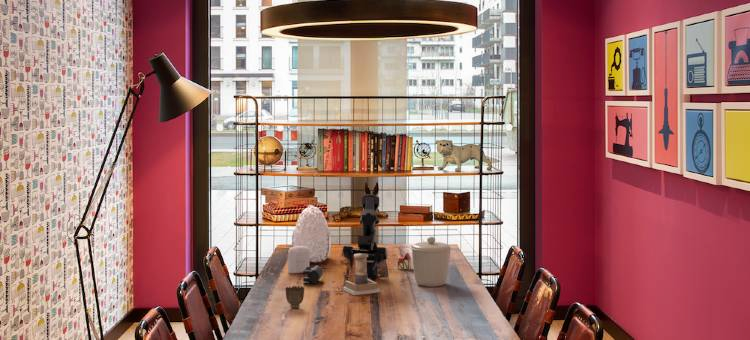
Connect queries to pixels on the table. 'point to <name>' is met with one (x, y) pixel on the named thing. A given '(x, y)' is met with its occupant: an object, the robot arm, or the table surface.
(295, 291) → the cup
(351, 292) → the cream cradle stand
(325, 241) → the rice ball
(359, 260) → the bobbin
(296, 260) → the photo printer
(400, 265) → the toy house
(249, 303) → the table surface
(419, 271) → the canister
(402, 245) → the table surface
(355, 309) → the table surface
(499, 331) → the table surface
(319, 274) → the end cap
